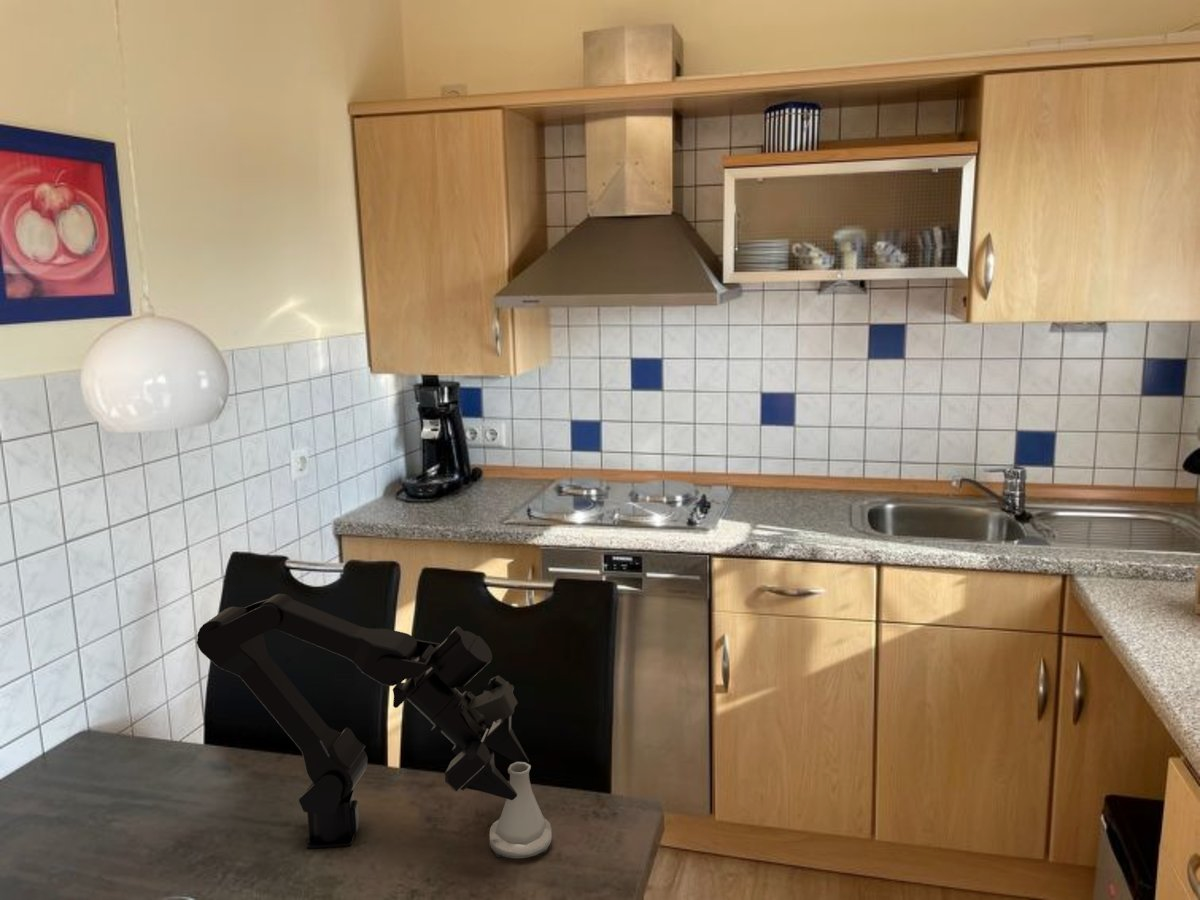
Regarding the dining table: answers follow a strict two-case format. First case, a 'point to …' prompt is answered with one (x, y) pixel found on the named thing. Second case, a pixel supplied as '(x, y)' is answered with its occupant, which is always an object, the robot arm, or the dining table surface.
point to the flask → (521, 809)
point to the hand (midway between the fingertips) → (521, 780)
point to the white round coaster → (520, 844)
